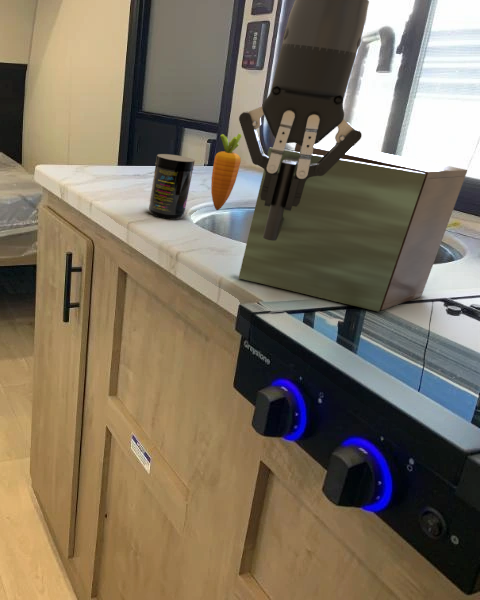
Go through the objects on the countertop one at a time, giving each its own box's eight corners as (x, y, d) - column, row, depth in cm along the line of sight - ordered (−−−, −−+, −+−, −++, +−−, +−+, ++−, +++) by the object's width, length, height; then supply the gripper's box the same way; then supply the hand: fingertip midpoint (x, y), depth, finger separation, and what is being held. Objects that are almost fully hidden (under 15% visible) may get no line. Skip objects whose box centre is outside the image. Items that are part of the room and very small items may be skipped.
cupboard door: (381, 331, 69) (433, 181, 62) (229, 293, 74) (262, 152, 68) (378, 309, 76) (424, 172, 69) (239, 276, 81) (270, 147, 75)
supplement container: (184, 222, 106) (196, 163, 102) (147, 216, 107) (156, 157, 103) (183, 213, 113) (193, 157, 109) (147, 208, 113) (157, 152, 109)
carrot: (202, 209, 117) (218, 131, 112) (206, 205, 122) (222, 130, 116) (227, 214, 116) (244, 135, 110) (231, 210, 120) (248, 134, 115)
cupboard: (381, 310, 76) (428, 171, 69) (265, 265, 88) (295, 143, 81) (421, 296, 83) (467, 169, 76) (309, 256, 95) (340, 144, 89)
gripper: (385, 55, 64) (337, 212, 71) (255, 38, 67) (221, 189, 74) (395, 53, 57) (341, 227, 64) (250, 35, 61) (214, 201, 68)
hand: (277, 206), depth 69 cm, fingers closed on cupboard door, 2 cm apart
